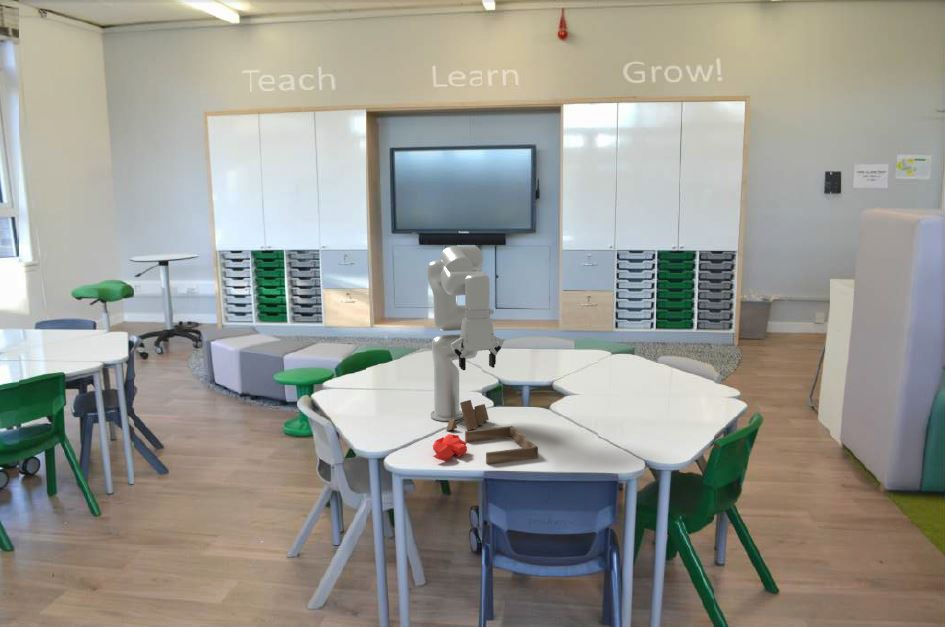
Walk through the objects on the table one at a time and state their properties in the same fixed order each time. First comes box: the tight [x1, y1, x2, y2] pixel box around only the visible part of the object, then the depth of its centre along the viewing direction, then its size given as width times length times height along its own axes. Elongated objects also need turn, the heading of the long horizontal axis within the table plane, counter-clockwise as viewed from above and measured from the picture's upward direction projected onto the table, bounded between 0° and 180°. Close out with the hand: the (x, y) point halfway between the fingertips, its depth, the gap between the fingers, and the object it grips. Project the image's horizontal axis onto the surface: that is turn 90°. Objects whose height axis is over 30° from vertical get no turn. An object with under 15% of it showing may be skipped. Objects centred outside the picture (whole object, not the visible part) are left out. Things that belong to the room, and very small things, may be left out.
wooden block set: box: [445, 399, 490, 432], centre depth 254 cm, size 18×9×10 cm, turn 136°
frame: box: [464, 425, 539, 465], centre depth 231 cm, size 22×17×4 cm
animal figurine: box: [432, 433, 468, 462], centre depth 225 cm, size 12×15×5 cm
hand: (477, 368), depth 219 cm, fingers open, 9 cm apart
